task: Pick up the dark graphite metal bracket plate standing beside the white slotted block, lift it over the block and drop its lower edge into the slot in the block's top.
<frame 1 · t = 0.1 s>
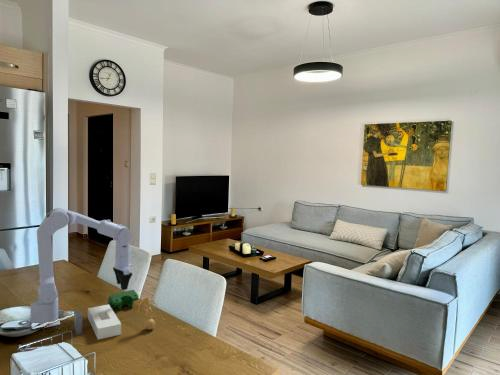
hand: (122, 286, 153), 10 cm above the table, tool pointing down, fingers open, 7 cm apart
white slotted block: (103, 325, 139), on the table
bracket: (78, 331, 134), on the table
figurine: (148, 328, 138), on the table
clamp: (123, 307, 156), on the table
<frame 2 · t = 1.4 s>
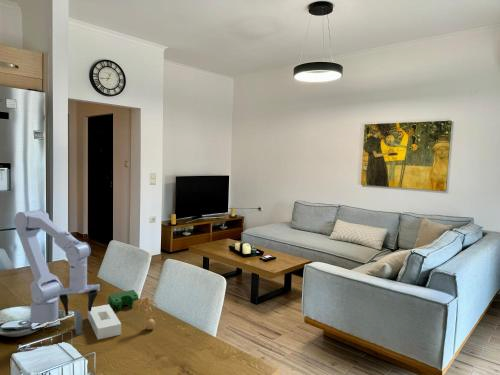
hand: (78, 312, 133), 7 cm above the table, tool pointing down, fingers open, 7 cm apart
nothing on the table moved.
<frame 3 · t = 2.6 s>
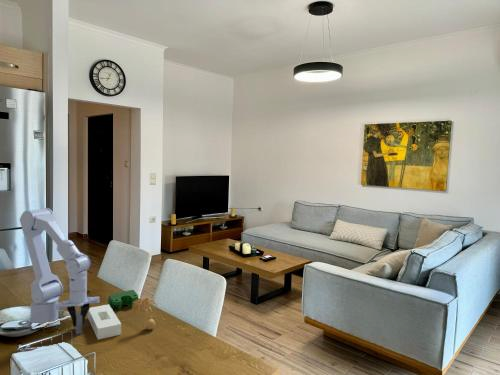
hand: (78, 324, 133), 2 cm above the table, tool pointing down, fingers closed on bracket, 2 cm apart
bracket: (78, 331, 134), on the table, touching gripper
everything else where it was.
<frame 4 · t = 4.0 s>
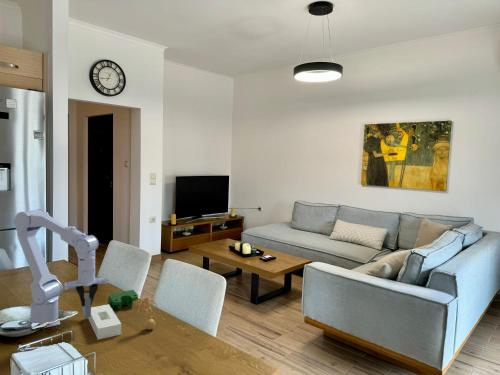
hand: (86, 304, 134), 9 cm above the table, tool pointing down, fingers closed on bracket
bracket: (86, 314, 135), point 6 cm above the table, touching gripper
everything else where it was.
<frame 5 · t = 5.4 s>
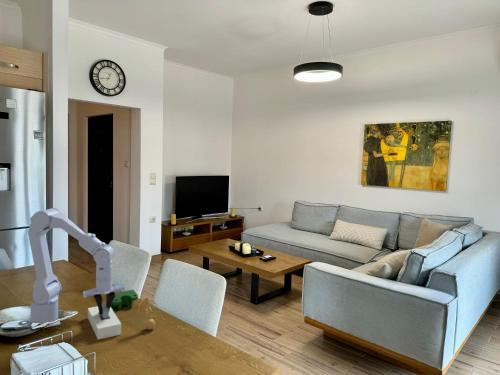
hand: (104, 312, 138), 5 cm above the table, tool pointing down, fingers closed on bracket, 2 cm apart
bracket: (103, 323, 139), point 1 cm above the table, touching gripper, white slotted block
everything else where it was.
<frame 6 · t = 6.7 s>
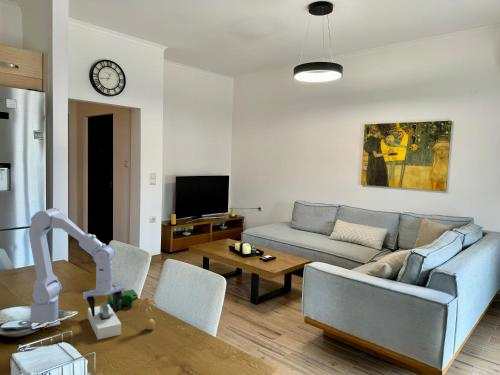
hand: (103, 313, 138), 5 cm above the table, tool pointing down, fingers open, 7 cm apart
bracket: (103, 323, 139), point 1 cm above the table, touching white slotted block
everything else where it was.
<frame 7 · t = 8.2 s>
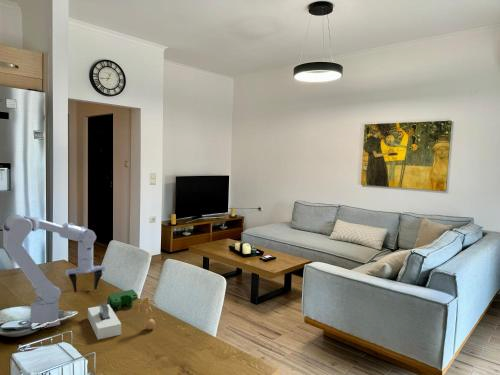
hand: (85, 290, 149), 9 cm above the table, tool pointing down, fingers open, 7 cm apart
nothing on the table moved.
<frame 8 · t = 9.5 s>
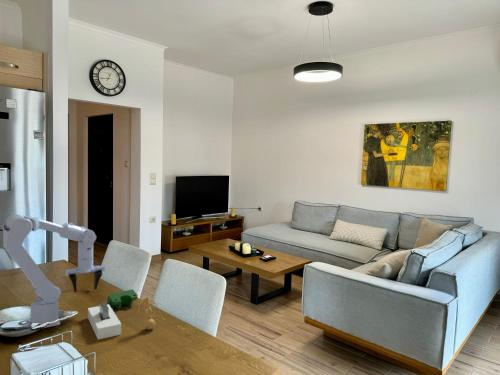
hand: (85, 290, 149), 9 cm above the table, tool pointing down, fingers open, 7 cm apart
nothing on the table moved.
at the end: bracket 0.0 cm off-centre on the white slotted block, point 1.0 cm above the white slotted block's base; bracket tilted 0°; the gripper is holding nothing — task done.
